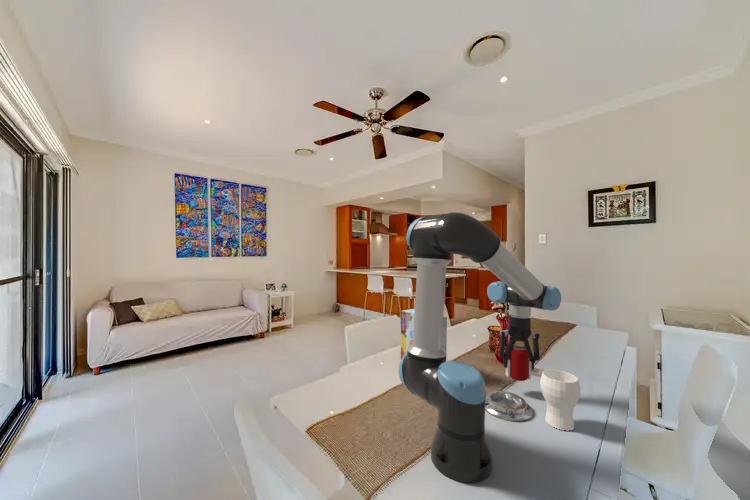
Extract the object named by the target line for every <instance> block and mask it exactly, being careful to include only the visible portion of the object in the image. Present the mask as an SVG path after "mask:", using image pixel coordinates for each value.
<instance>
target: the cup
mask: <svg viewBox="0 0 750 500" xmlns="http://www.w3.org/2000/svg"><path fill="white" fill-rule="evenodd" d="M544 370H545V371H543V372H542V376H541V377H540V380H539V381H540V384H539V385H540V386H539V387H540V389H541V394H542V396H543V398H544V400H545V402H546V403H545V404H546V411H545V412H546V413H545V418H544V420H545V422H546V423H547V425H549V426H550V427H552V428H554V427H555V428H554V429H556V428H557V429H556V430H559V429H560V431H564V430H566V431H565V432H570V431H569V430H571V431H573V430H574V429H575V422H574V420H575V419H574V416H573V414H574V409H575V407H576V406H577V404H578V403H579V402H580V401H579V400H580V398H581V393H582V392H581V385H580V381H579V378H578V377H577V376H576V375H574V374H573V373H570V372H568V371H563V370H561V369H560V370H559V369H544Z"/></svg>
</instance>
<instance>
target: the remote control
mask: <svg viewBox="0 0 750 500" xmlns="http://www.w3.org/2000/svg"><path fill="white" fill-rule="evenodd" d="M545 370H546V369H542V368H537V367H534V370H531V376H534V377H537V378H538V377H539V378H541V376H542V372H543V371H545Z"/></svg>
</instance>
